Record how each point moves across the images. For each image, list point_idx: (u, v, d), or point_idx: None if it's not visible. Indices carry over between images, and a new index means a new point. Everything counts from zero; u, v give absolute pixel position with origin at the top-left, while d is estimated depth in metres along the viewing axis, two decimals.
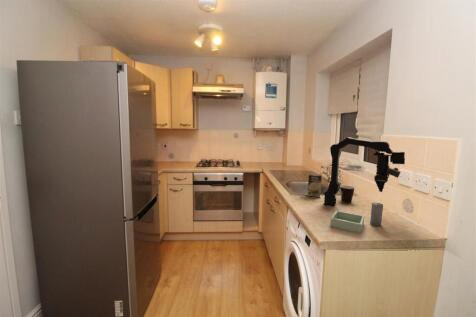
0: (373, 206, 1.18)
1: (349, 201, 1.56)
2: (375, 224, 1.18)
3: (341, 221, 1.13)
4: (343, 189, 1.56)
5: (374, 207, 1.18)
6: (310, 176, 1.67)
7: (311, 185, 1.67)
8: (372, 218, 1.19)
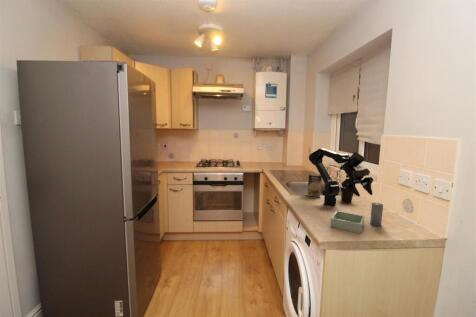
0: (373, 206, 1.18)
1: (349, 201, 1.56)
2: (375, 224, 1.18)
3: (341, 221, 1.13)
4: (343, 189, 1.56)
5: (374, 207, 1.18)
6: (310, 176, 1.67)
7: (311, 185, 1.67)
8: (372, 218, 1.19)
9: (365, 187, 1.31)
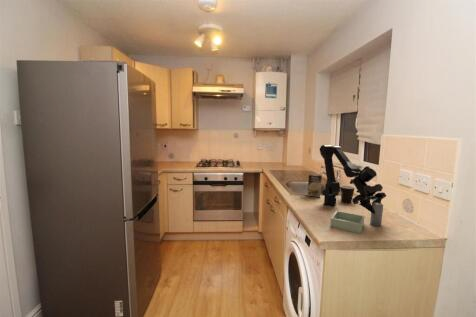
0: (373, 206, 1.18)
1: (349, 201, 1.56)
2: (375, 224, 1.18)
3: (341, 221, 1.13)
4: (343, 189, 1.56)
5: (374, 207, 1.18)
6: (310, 176, 1.67)
7: (311, 185, 1.67)
8: (372, 218, 1.19)
9: None
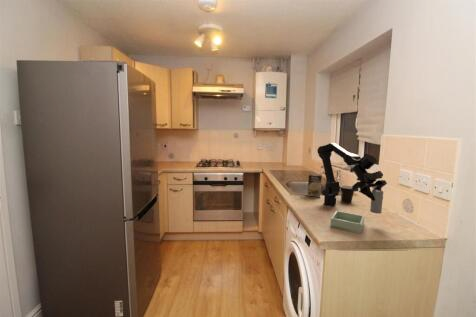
0: (373, 193, 1.17)
1: (349, 201, 1.56)
2: (375, 211, 1.17)
3: (341, 221, 1.13)
4: (343, 189, 1.56)
5: (374, 194, 1.17)
6: (310, 176, 1.67)
7: (311, 185, 1.67)
8: (372, 205, 1.18)
9: None
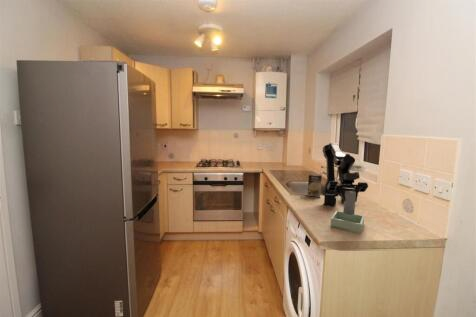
0: (345, 193, 1.16)
1: None
2: (345, 212, 1.16)
3: (341, 221, 1.13)
4: (343, 189, 1.56)
5: (345, 195, 1.16)
6: (310, 176, 1.67)
7: (311, 185, 1.67)
8: (344, 206, 1.17)
9: None
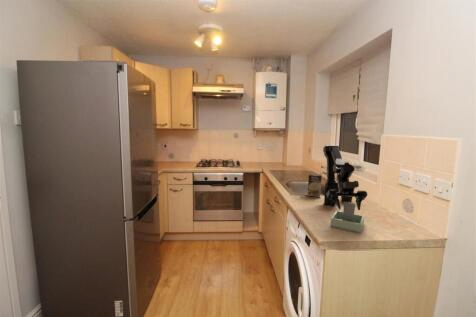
0: (344, 205, 1.17)
1: (349, 201, 1.56)
2: None
3: (341, 221, 1.13)
4: None
5: (344, 206, 1.16)
6: (310, 176, 1.67)
7: (311, 185, 1.67)
8: (343, 217, 1.18)
9: (356, 201, 1.20)
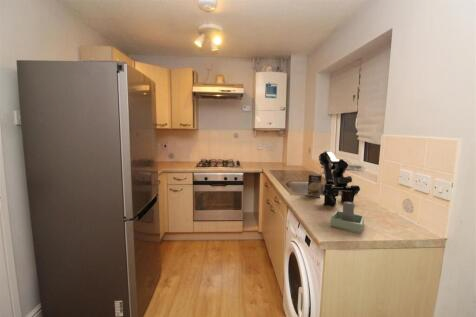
0: (343, 205, 1.17)
1: (349, 201, 1.56)
2: None
3: (341, 221, 1.13)
4: None
5: (343, 206, 1.17)
6: (310, 176, 1.67)
7: (311, 185, 1.67)
8: None
9: (350, 195, 1.29)
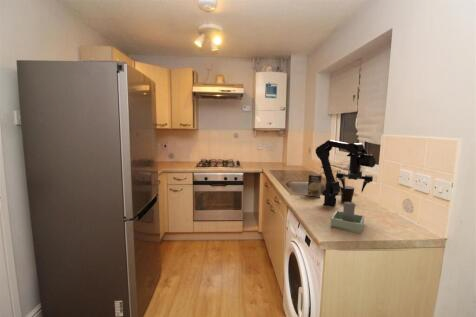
0: None
1: (349, 201, 1.56)
2: None
3: (341, 221, 1.13)
4: (343, 189, 1.56)
5: (344, 206, 1.16)
6: (310, 176, 1.67)
7: (311, 185, 1.67)
8: (343, 217, 1.18)
9: None
